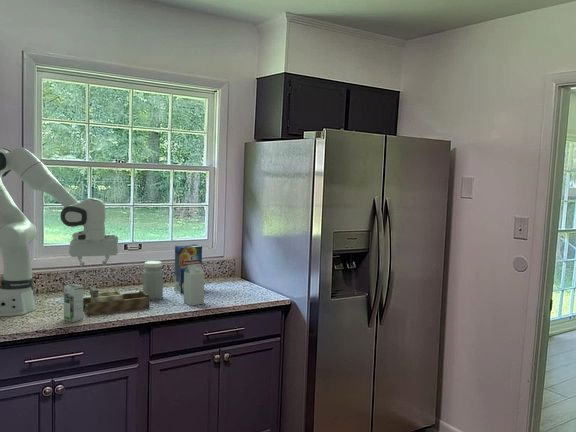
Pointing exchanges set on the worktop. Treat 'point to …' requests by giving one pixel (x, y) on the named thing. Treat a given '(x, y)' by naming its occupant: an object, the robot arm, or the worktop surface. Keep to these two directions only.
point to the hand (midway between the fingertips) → (93, 265)
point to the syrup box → (73, 302)
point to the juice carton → (185, 263)
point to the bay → (117, 304)
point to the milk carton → (194, 285)
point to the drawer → (104, 295)
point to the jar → (153, 279)
